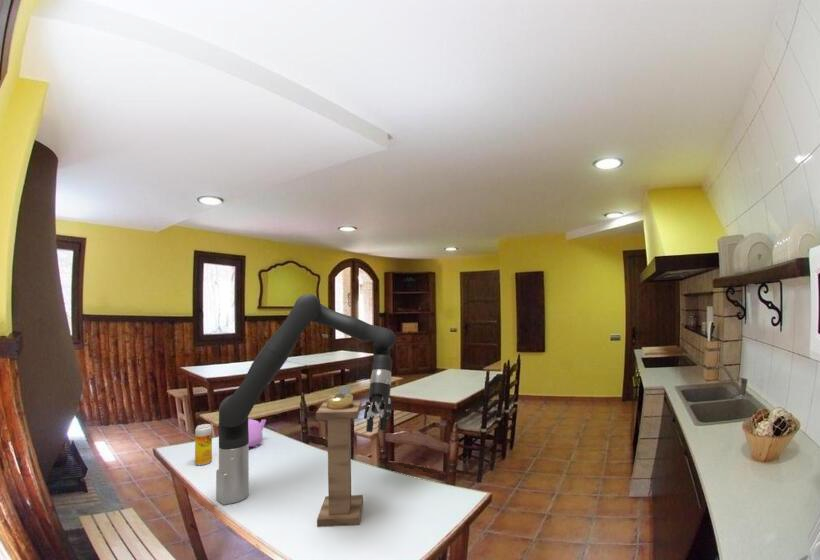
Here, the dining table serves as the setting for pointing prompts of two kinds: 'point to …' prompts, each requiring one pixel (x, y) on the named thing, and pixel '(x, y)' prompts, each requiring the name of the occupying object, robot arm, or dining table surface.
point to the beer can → (203, 444)
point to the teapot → (255, 431)
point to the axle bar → (340, 399)
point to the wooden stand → (339, 469)
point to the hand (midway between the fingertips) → (375, 431)
